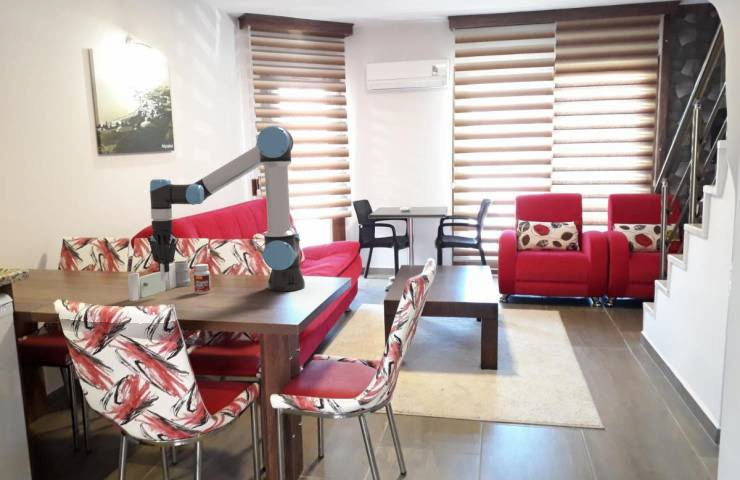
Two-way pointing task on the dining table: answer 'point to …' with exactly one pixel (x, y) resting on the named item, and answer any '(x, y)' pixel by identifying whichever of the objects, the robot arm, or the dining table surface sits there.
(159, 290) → the grey green panel
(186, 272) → the mug
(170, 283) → the frame
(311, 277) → the dining table surface
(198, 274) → the pill bottle
